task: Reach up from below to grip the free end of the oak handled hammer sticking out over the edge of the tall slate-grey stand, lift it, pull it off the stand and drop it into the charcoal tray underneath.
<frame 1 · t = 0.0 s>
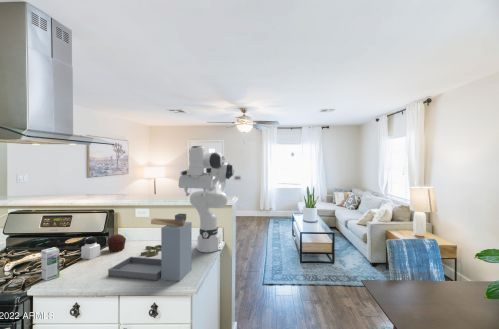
hand: (195, 196, 150), 39 cm above the counter, tool pointing down, fingers open, 8 cm apart
muffin: (116, 250, 170), on the counter
syrup box: (50, 277, 130), on the counter
charcoal tray: (142, 271, 138), on the counter
cookie cutter: (152, 252, 168), on the counter
slate stand: (177, 274, 135), on the counter
oak handled hammer: (177, 224, 134), point 26 cm above the counter, touching slate stand
medicine bottle: (90, 257, 158), on the counter
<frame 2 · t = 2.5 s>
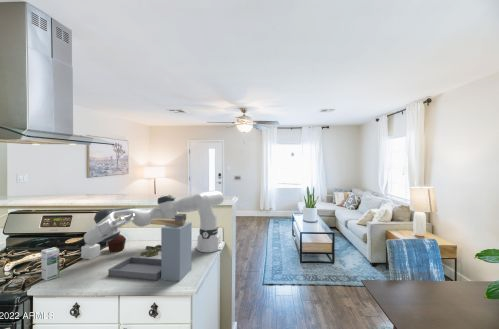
hand: (128, 216, 140), 29 cm above the counter, tool pointing upward, fingers open, 8 cm apart
nothing on the counter moved.
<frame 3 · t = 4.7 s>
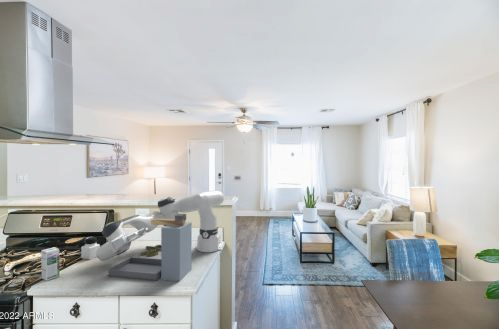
hand: (142, 231, 138), 22 cm above the counter, tool pointing upward, fingers open, 8 cm apart
nothing on the counter moved.
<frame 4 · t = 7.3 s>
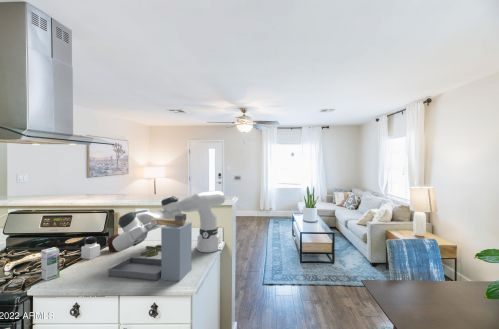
hand: (159, 221, 136), 27 cm above the counter, tool pointing upward, fingers closed on oak handled hammer, 3 cm apart
oak handled hammer: (177, 224, 134), point 26 cm above the counter, touching gripper, slate stand
everything else where it was.
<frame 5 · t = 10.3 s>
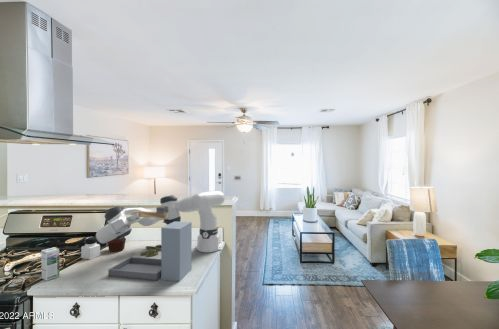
hand: (141, 213, 137), 31 cm above the counter, tool pointing upward, fingers closed on oak handled hammer, 3 cm apart
oak handled hammer: (159, 217, 136), point 30 cm above the counter, touching gripper
everything else where it was.
when the fingers open (20 cm above the counter, at t = 13.6 s): oak handled hammer drops 18 cm, resting on charcoal tray.
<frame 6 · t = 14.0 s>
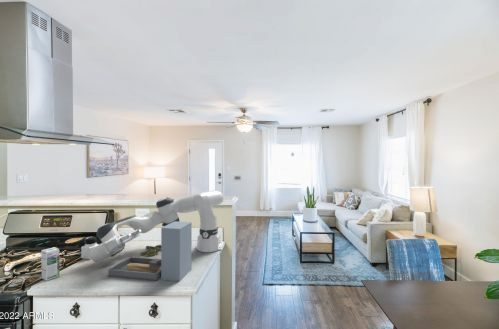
hand: (135, 232, 139), 20 cm above the counter, tool pointing upward, fingers open, 8 cm apart
oak handled hammer: (151, 270, 137), point 1 cm above the counter, touching charcoal tray
everything else where it was.
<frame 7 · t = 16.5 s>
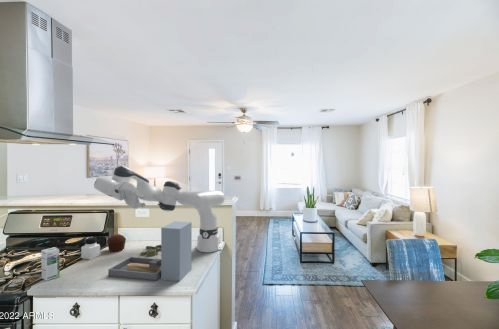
hand: (144, 201, 144), 37 cm above the counter, tool tilted 70°, fingers open, 8 cm apart
nothing on the counter moved.
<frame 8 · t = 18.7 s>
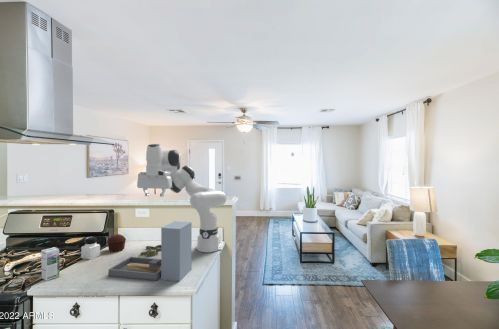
hand: (154, 196, 147), 39 cm above the counter, tool pointing down, fingers open, 8 cm apart
nothing on the counter moved.
at the end: oak handled hammer inside the target area (5.4 cm from its centre), point 0.6 cm above the counter; the gripper is holding nothing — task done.
